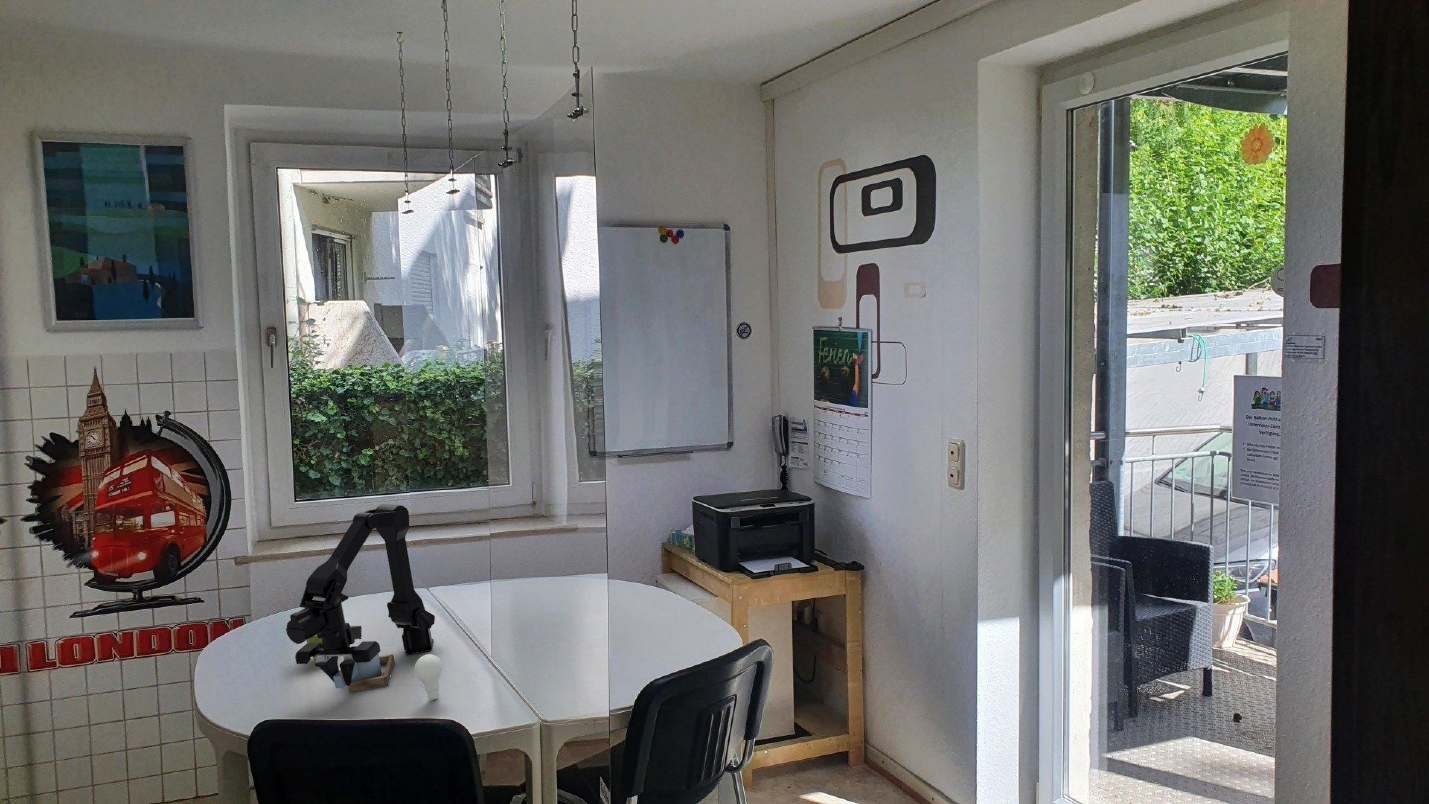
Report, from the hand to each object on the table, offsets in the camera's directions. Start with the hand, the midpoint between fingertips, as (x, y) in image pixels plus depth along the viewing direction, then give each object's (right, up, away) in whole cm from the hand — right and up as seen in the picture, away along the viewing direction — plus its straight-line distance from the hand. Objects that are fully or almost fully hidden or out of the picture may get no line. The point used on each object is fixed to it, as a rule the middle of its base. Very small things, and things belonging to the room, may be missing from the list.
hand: (344, 685), depth 228 cm
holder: (+3, -1, +10) cm, 11 cm away
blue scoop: (+1, -2, +6) cm, 6 cm away
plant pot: (-13, 0, +23) cm, 27 cm away
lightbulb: (+23, -2, -5) cm, 23 cm away
